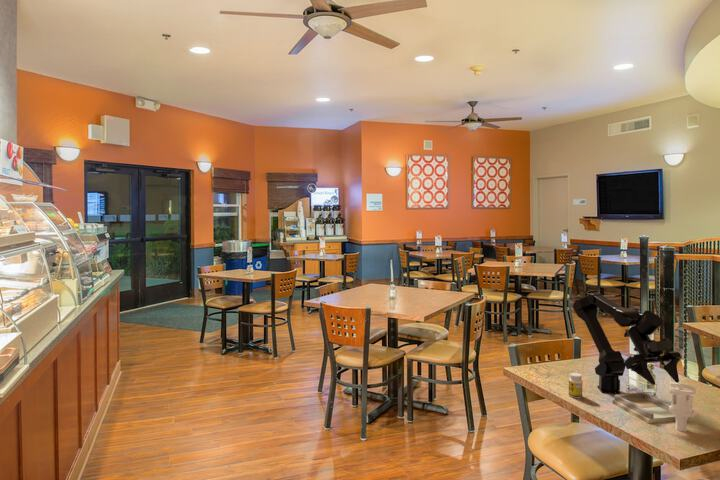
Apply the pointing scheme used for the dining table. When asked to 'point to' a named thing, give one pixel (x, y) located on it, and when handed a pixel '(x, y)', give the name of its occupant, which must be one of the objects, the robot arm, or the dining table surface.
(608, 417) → the dining table surface
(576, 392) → the supplement bottle
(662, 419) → the rail board
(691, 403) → the beige tall round piece
